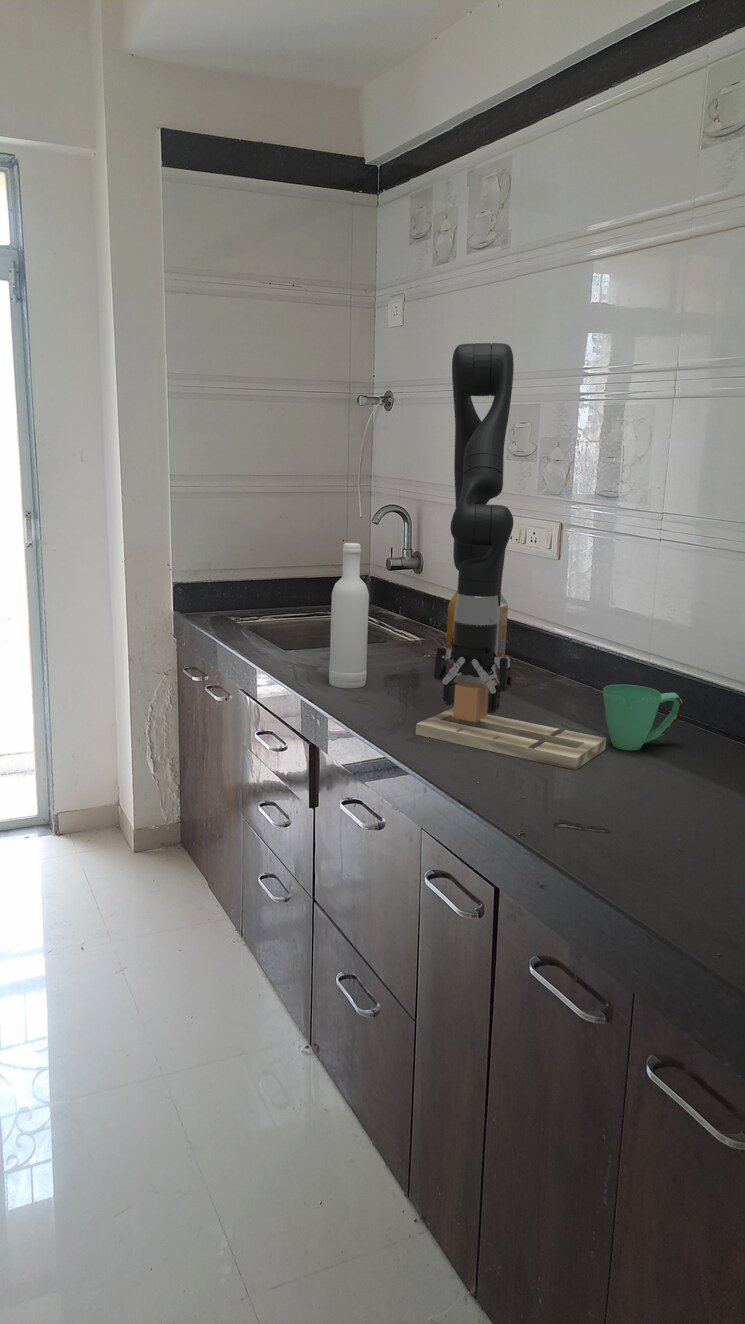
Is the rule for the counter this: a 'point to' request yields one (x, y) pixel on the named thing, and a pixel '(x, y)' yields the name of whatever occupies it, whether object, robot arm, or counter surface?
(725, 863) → the counter surface
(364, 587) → the bottle
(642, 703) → the mug
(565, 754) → the board
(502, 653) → the milk carton
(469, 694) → the fader knob
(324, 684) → the counter surface
